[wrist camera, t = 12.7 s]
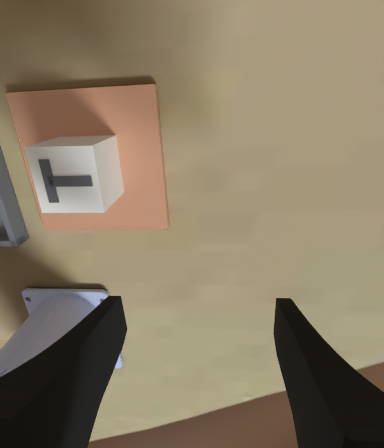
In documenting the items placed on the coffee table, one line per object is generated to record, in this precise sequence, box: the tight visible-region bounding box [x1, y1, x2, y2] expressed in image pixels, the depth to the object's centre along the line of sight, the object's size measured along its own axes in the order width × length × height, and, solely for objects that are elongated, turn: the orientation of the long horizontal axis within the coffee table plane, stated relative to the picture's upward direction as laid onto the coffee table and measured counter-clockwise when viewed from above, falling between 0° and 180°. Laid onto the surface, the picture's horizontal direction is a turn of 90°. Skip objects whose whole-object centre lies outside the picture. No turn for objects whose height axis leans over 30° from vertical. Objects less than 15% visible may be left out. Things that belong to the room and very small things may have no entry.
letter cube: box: [24, 135, 124, 213], centre depth 19 cm, size 4×4×4 cm
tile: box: [5, 84, 170, 230], centre depth 21 cm, size 10×10×1 cm
